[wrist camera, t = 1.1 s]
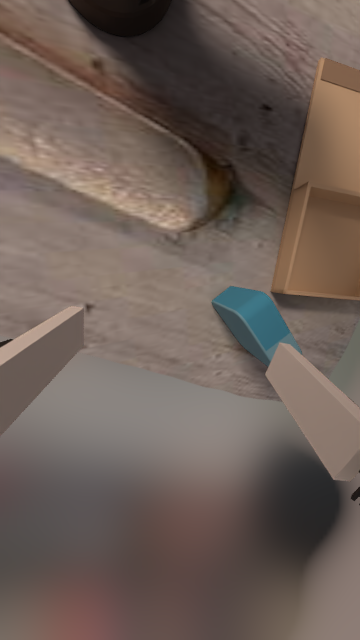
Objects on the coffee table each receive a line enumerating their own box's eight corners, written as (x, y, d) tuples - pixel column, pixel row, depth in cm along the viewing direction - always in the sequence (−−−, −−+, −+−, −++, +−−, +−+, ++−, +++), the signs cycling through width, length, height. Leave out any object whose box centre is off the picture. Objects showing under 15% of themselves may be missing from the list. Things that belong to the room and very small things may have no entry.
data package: (258, 332, 38) (306, 358, 27) (241, 345, 38) (281, 377, 27) (228, 284, 34) (267, 291, 23) (208, 300, 35) (238, 314, 23)
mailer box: (318, 61, 28) (342, 31, 25) (415, 95, 32) (448, 73, 28) (270, 291, 36) (283, 293, 33) (351, 298, 40) (371, 301, 36)
